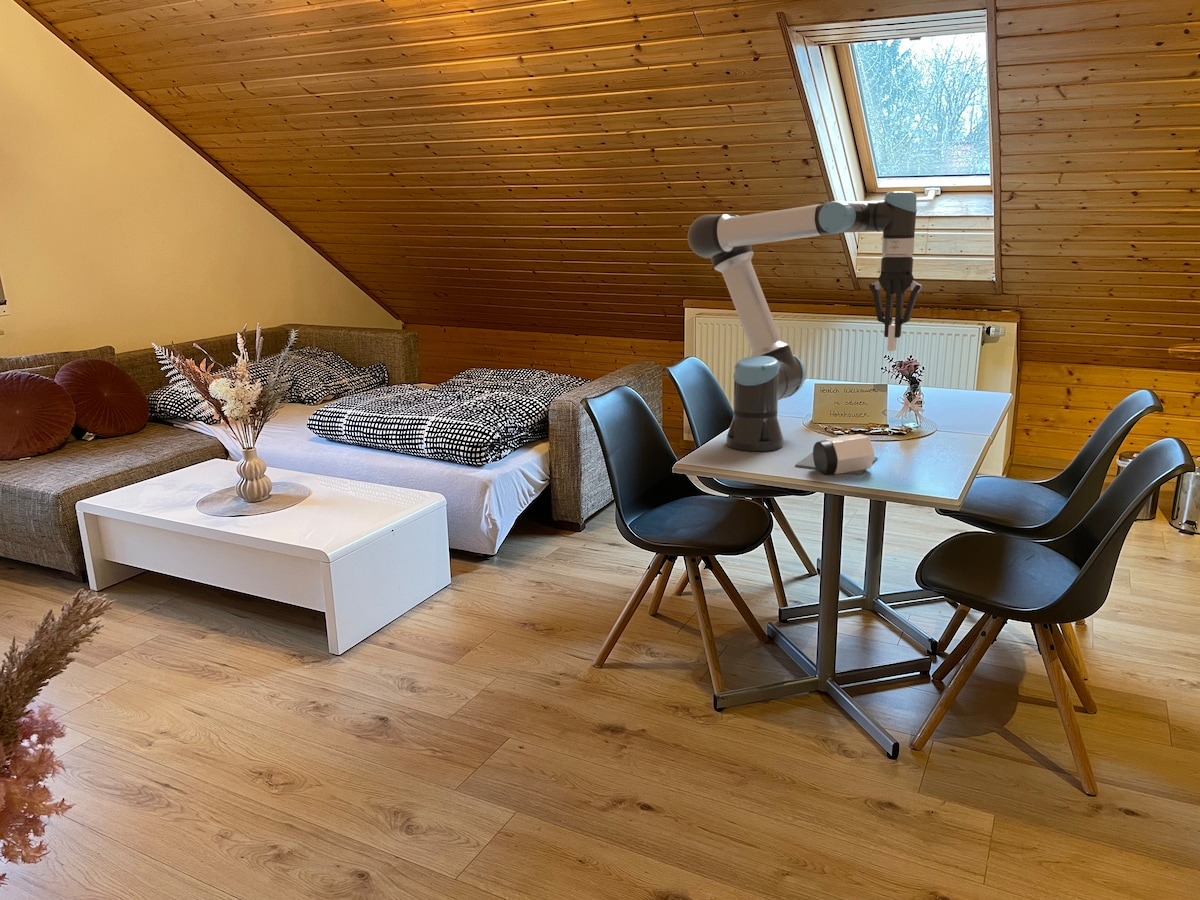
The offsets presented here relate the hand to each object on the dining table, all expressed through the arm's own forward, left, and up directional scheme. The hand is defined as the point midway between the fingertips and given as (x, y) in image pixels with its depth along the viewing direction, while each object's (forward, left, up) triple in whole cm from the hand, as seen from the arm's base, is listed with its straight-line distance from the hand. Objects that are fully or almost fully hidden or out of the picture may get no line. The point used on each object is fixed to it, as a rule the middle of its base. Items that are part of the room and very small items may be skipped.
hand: (891, 350), depth 229 cm
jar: (0, -21, -22) cm, 30 cm away
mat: (-7, -19, -26) cm, 33 cm away
